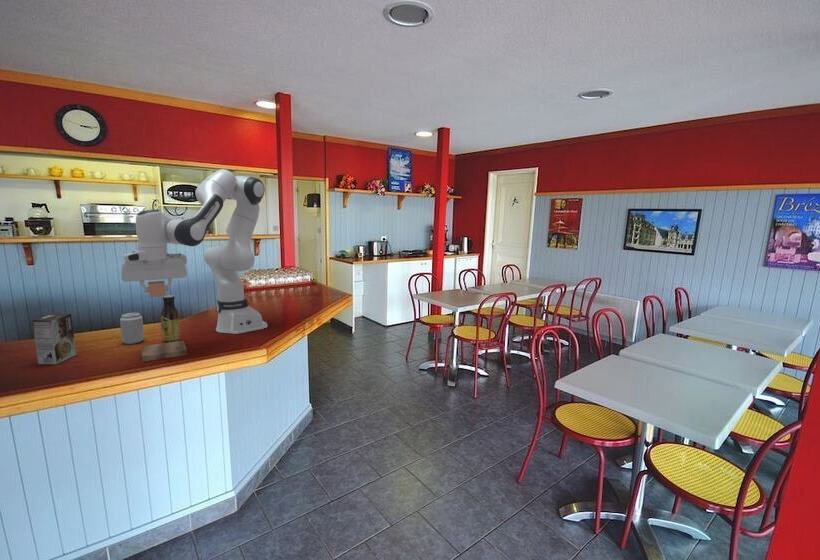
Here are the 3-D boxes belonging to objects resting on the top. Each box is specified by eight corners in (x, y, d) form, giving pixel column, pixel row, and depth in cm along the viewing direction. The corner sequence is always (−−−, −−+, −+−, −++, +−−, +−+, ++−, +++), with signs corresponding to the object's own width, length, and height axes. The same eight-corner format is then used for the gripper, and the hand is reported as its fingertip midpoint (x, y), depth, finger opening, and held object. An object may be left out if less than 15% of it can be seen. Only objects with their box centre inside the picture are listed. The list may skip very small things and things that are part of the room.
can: (132, 345, 153) (130, 316, 151) (117, 344, 155) (114, 315, 153) (148, 340, 161) (146, 312, 159) (134, 338, 162) (131, 311, 160)
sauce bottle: (160, 342, 158) (156, 295, 155) (177, 339, 163) (174, 293, 160) (165, 346, 154) (161, 298, 151) (182, 342, 159) (179, 296, 155)
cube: (165, 293, 146) (163, 280, 145) (165, 295, 142) (164, 282, 141) (149, 294, 143) (148, 281, 142) (149, 297, 139) (148, 284, 138)
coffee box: (58, 355, 141) (53, 313, 139) (77, 355, 142) (72, 313, 139) (37, 364, 132) (30, 319, 130) (56, 364, 133) (51, 319, 130)
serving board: (184, 345, 156) (183, 340, 155) (187, 354, 145) (186, 349, 145) (142, 351, 148) (141, 346, 147) (142, 361, 137) (141, 356, 137)
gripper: (185, 252, 148) (188, 287, 151) (119, 254, 137) (124, 292, 139) (186, 253, 143) (189, 289, 146) (118, 256, 132) (123, 295, 134)
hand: (157, 291), depth 142 cm, fingers closed on cube, 5 cm apart
